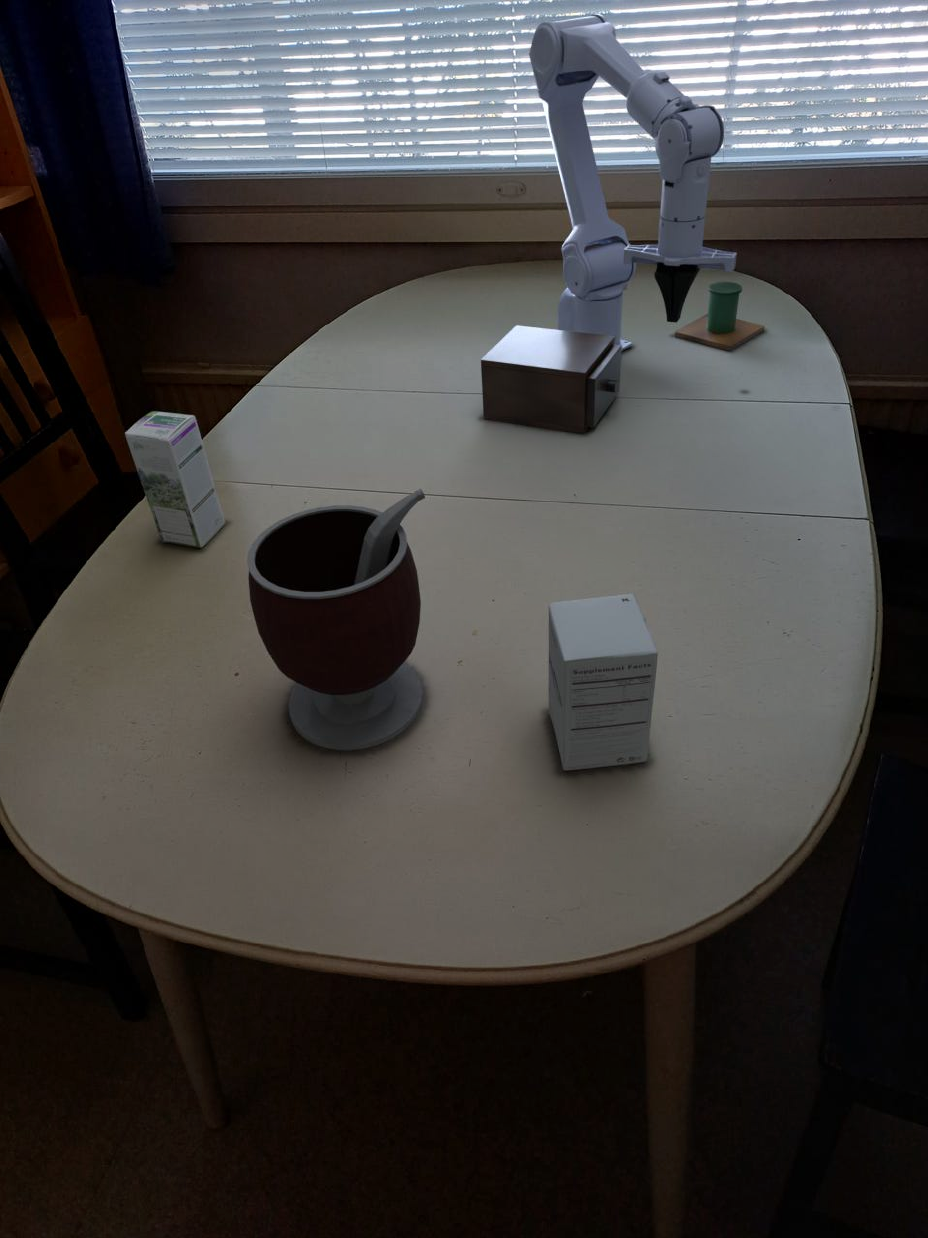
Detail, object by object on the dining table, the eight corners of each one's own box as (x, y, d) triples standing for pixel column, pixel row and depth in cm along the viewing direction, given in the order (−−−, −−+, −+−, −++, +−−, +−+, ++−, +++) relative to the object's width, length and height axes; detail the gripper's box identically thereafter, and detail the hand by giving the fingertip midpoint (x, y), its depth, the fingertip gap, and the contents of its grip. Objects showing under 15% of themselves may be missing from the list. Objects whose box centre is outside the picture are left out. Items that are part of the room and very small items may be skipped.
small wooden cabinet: (612, 394, 128) (615, 335, 123) (583, 434, 120) (585, 373, 114) (517, 381, 134) (516, 324, 128) (483, 418, 125) (480, 359, 120)
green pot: (698, 329, 143) (702, 288, 138) (715, 319, 145) (720, 279, 141) (725, 336, 140) (730, 294, 136) (742, 326, 142) (748, 285, 138)
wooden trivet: (674, 336, 143) (675, 331, 143) (709, 317, 148) (709, 312, 148) (730, 351, 137) (730, 346, 137) (764, 330, 143) (764, 325, 142)
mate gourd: (304, 778, 76) (255, 590, 63) (264, 678, 86) (215, 498, 73) (471, 718, 80) (457, 531, 67) (415, 630, 90) (393, 452, 77)
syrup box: (227, 523, 108) (197, 412, 99) (201, 550, 104) (167, 437, 95) (186, 517, 110) (153, 407, 100) (159, 544, 105) (121, 431, 96)
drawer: (627, 392, 127) (630, 345, 122) (602, 428, 119) (604, 380, 114) (530, 379, 132) (529, 334, 128) (500, 413, 124) (498, 366, 120)
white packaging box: (546, 711, 80) (546, 599, 72) (629, 702, 80) (637, 590, 72) (560, 774, 74) (561, 660, 66) (649, 764, 75) (661, 650, 67)
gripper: (618, 220, 115) (614, 324, 124) (733, 228, 110) (720, 335, 119) (634, 205, 120) (629, 306, 129) (744, 212, 115) (731, 316, 124)
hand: (673, 319), depth 124 cm, fingers closed
